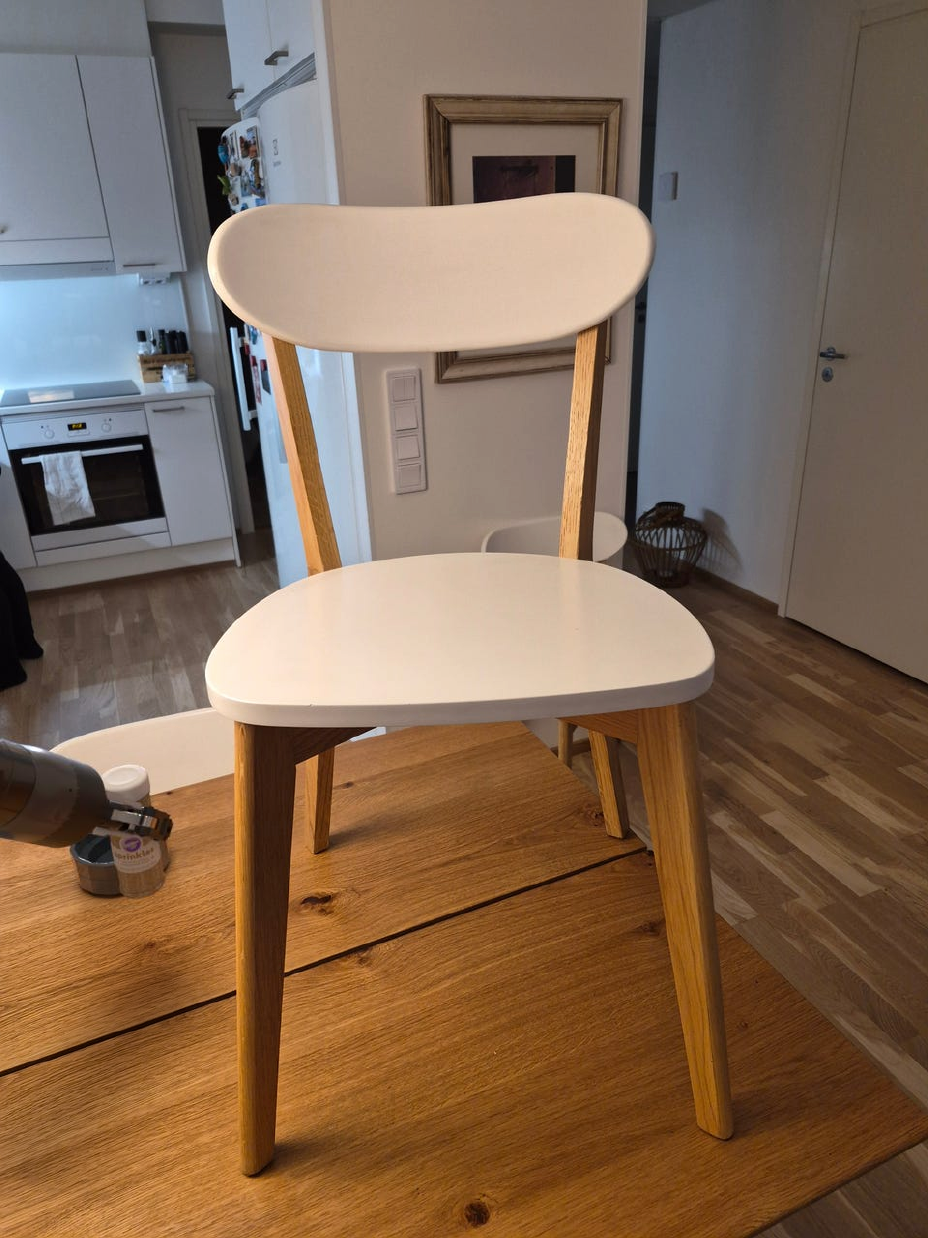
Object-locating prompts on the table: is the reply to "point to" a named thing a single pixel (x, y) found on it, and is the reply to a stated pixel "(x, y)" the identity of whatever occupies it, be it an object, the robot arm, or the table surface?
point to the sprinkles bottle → (135, 837)
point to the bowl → (101, 863)
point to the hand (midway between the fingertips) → (145, 825)
